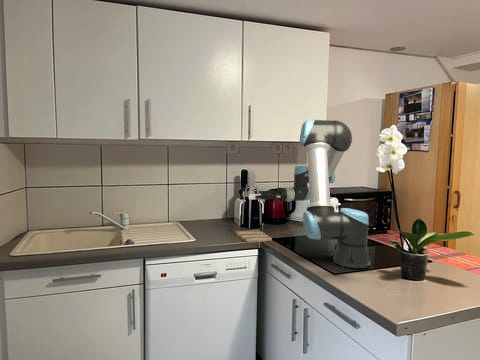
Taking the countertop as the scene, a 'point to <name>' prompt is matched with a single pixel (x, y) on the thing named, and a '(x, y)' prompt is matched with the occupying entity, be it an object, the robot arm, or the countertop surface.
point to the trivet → (253, 236)
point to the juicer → (251, 192)
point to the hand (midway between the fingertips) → (246, 195)
